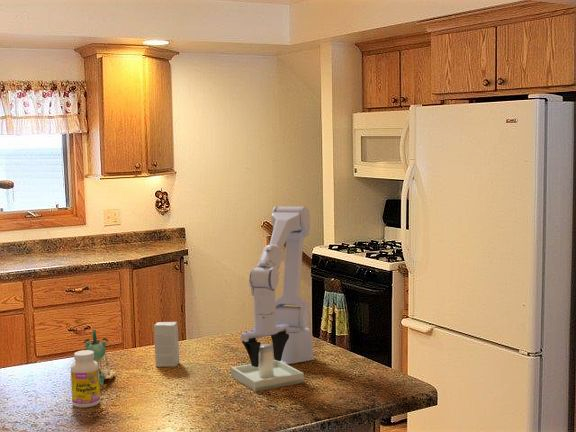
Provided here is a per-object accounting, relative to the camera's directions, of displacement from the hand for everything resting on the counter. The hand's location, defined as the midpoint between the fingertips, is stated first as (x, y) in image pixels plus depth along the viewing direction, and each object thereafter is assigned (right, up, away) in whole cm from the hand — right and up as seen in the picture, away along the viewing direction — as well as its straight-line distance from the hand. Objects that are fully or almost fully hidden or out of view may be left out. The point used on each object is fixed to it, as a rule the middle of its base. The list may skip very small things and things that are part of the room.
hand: (266, 363), depth 208 cm
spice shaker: (0, -3, +1) cm, 3 cm away
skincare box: (-29, -4, +16) cm, 33 cm away
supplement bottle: (-44, -7, -15) cm, 47 cm away
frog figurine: (-46, -6, +4) cm, 46 cm away
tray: (0, -4, 0) cm, 4 cm away
